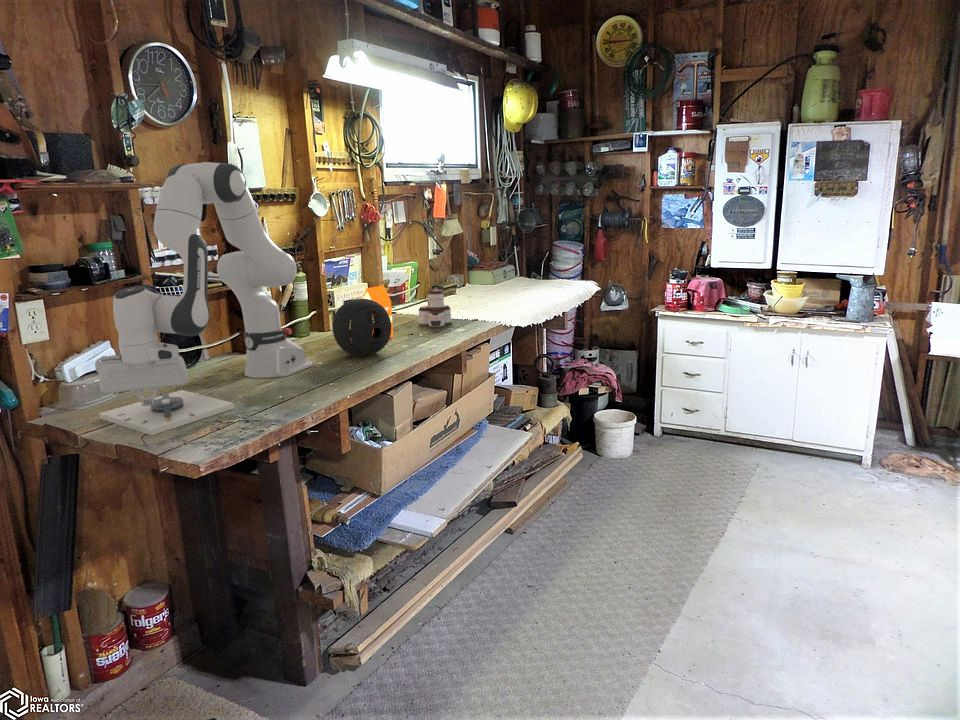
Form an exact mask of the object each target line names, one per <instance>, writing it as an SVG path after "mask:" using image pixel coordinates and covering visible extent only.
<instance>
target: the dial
mask: <svg viewBox="0 0 960 720" xmlns="http://www.w3.org/2000/svg"><path fill="white" fill-rule="evenodd" d="M169 394H170V392H169V393H162V394H161V396H162V398H160V399H157V400H155V405H150V406H151V410H152V411H155V412H164V417H170V416H171V411H172V410H176V409H179V408H181V407H183V399H182V398H180V397H169Z"/></svg>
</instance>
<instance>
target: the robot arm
mask: <svg viewBox="0 0 960 720" xmlns="http://www.w3.org/2000/svg"><path fill="white" fill-rule="evenodd" d="M210 204H213V205H214V207H215V212H216V214H217V216H218V217H217V218H218V220H219V223H220V225H221V228H222V230H223V233H224V237H225V238H226V241H227V242H228V243H229V244H231V245H232V246H234V247H235V248H238V249H239V250H240V251H239V250H238V251H233V252H229V253H225V254H222V255H221V256H220V258H219V259H218V261H217V265H216V272H217V277H218V278H219V279H220V281H221V282H222V283H224V284H225V285H227V287H228V288H229V289H230V290H232V292H233V293H234V295H235V297H236V298H237V300H238V302H239V305H240V307H241V312H242V318H243V324H244V325H243V326H244V331H243V337H244V338H243V339H244V344H245V348H246V350H245V351H246V359H245V360H246V361H245V369H244V374H243V375H244V376H245V377H248V378H252V379H253V378H254V379H255V378H256V379H257V378H259V379H265V378H277V377H279V378H280V377H282V378H283V377H288V376H291V375H293V374H296V373H298V372H301V371H303V370H306V369H307V368H308V369H309V368H311V367H313V366H314V362H313V361H311V360H309V359H306V354H305V351H304V349H303V348H302V346H300V345H298V344H297V343H295V342H293V341H292V340H290V339H289V338H288V337H287V335H292V334H293V330H292V328H290V327H289V328H288V327H285V328H283V327H282V324H281V315H280V314H281V313H280V306H279V305H278V302H277V301H276V300H274V299H273V298H271V297H269V296H267V294H266V293H265V291H264V289H263V288H278V287H284V286H289V285H291V284H292V283H293V282H294V280H295V278H296V276H297V272H298V269H297V268H298V267H297V263H296V261H295V258H293V256H292V255H290V254H289V253H287V252H286V251H284V250H282V249H281V248H279V246H277V245H276V244H275V242H273V240H272V239H271V238H270V237H269V235H268V234H267V233H266V230H265V229H264V226H263V224H262V221H261V218H260V216H259V214H258V210H257V206H256V204H255V201H254V200H253V196H252V194H251V192H250V190H249V188H248V186H247V180H246V177H245V175H244V172H243V171H242V170H241V168H240V167H238V166H237V165H235V164H232V163H228V162H211V161H210V162H207V161H203V162H196V163H189V164H188V163H181V164H177V165H175V166H172V167H171V168H170V170H169V171H168V174H167V176H166V179H165V181H164V183H163V185H162V188H161V190H160V192H159V195H158V200H157V203H156V209H155V213H154V219H153V232H154V233H153V234H154V235H155V237H156V239H157V240H158V241H159V242H160V243H161V244H162V245H163V246H164V247H165V248H167V249H169V250H171V251H173V252H174V253H176V254H178V256H180V258H181V259H182V262H183V283H182V284H183V287H182V289H183V290H182V293H181V294H180V296H179V295H178V296H177V295H167V294H160V293H155V292H152V291H150V290H148V289H147V287H145V286H142V285H134V286H130V287H129V286H128V287H124V288H121V289H120V290H118V291H117V292H116V293H115V294H114V295H113V301H112V311H113V318H114V325H115V328H116V330H117V332H118V349H119V354H114V355H109V356H108V355H104V356H101V357H100V358H98V359H96V360H95V363H94V367H95V372H96V373H98V382H99V383H98V385H99V391H100V392H101V393H102V394H104V395H106V394H115V393H125V392H133V391H134V394H135V396H136V397H137V398H138V399H139V400H140V402H142V406H149V405H155V397H157V393H158V391H159V389H158V388H166V387H167V388H168V387H174V386H175V387H176V386H183V385H186V384H187V383H188V382H189V374H188V369H187V365H186V362H185V360H184V358H183V357H182V355H180V354H179V353H180V349H179V346H178V345H176V344H172V343H165V342H161V341H159V339H158V335H157V333H164V334H175V335H180V336H181V335H182V336H186V337H196V336H199V334H201V333H202V332H203V331H204V330H205V329H206V328H207V326H209V325H208V324H209V322H210V317H211V316H210V306H209V301H208V279H209V278H208V275H209V273H208V272H209V271H208V269H209V267H208V266H209V259H208V256H209V254H208V247H207V243H206V240H205V239H204V238H203V237H202V232H201V223H202V218H203V217H202V216H203V205H210ZM149 389H150V392H151V393H152V395H151V396H149V397H147V396H146V397H145V396H144V394H142V392H143V390H149Z"/></svg>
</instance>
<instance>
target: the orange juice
mask: <svg viewBox="0 0 960 720" xmlns="http://www.w3.org/2000/svg"><path fill="white" fill-rule="evenodd" d="M361 299H370V300H373V301H376V302H377V303H379V304H380V305H382V306H383V307H384V308H385V310H386V311H387V313H388V315H389V317H390V320H391V335H390V338H393V337H394V332H393V331H394V329H393V315H392V313H393V312H392V311H393V310H392V300H391V299H390V296H389V294H388V292H387V289H386V287H385V285H380V286H372V287H366V289H365V291H364V294H363V295H362V298H361ZM372 317H373V315H372ZM373 323H374V321H373ZM372 336H373V334H372Z"/></svg>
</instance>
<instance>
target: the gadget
mask: <svg viewBox="0 0 960 720" xmlns="http://www.w3.org/2000/svg"><path fill="white" fill-rule="evenodd" d="M372 315H373V317H372ZM373 321H374V323H373ZM331 329H332V334H333V337H334V339H335V342H336V343H337V345H338V347H339V348H341V349H342V351H343V352H346V353H348V354H349V355H353V356H357V357H360V356H361V357H366V356H367V357H368V356H371V355H374V354H376V353H379V352H380V351H381V350H383V349H384V348H385V346H386V345H387V344H388V342H389V340H390V338H391V337H390V335H391V320H390V317H389V315H388V313H387V311H386V310H385V308H384V307H383V306H382V305H380V304H379V303H377V302H376V301H373V300H370V299H362V298H356V299H351V300H349V301H346V302H345V303H343V304H342V305H341V306H340V307H339V308H338V309H337V310H336V312H335V313H334V317H333V319H332V328H331ZM372 334H373V336H372Z"/></svg>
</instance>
